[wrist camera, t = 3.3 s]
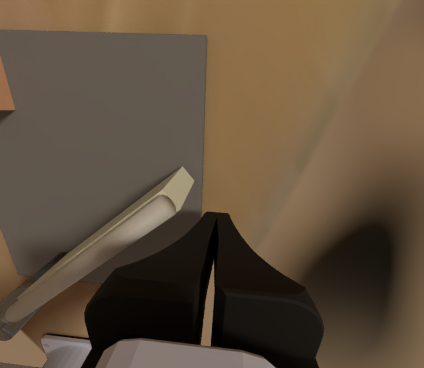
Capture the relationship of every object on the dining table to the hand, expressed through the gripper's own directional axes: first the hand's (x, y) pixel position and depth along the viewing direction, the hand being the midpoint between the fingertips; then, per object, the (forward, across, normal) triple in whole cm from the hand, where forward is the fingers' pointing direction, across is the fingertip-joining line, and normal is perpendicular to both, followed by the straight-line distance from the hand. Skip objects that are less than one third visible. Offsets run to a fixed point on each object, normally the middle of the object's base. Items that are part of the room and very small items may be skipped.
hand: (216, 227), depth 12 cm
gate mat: (+3, +9, -1) cm, 10 cm away
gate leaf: (+2, +7, +1) cm, 7 cm away
